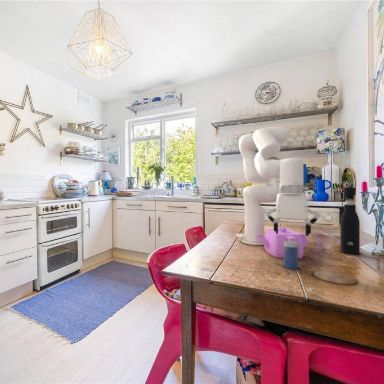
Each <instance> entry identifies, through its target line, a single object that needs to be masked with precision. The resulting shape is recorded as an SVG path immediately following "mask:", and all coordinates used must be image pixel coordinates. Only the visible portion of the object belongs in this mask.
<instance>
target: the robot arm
mask: <svg viewBox="0 0 384 384" xmlns="http://www.w3.org/2000/svg"><path fill="white" fill-rule="evenodd" d="M287 139H288V132H287V130H286V129H285V127H282V126H271V127H261V128H258V129H256V130H255V131H254V132H253V133H246V134H242V136H240V137H239V141H238V148H239V149H238V150H239V152H240V153H239V154H240V155H241V158H242V160H243V174H244V175H243V176H244V181H245V182H246V183H247V184H259V185H248V186H245V187H244V188H243V189H242V198H243V205H244V233H236V234H235V237H236V238H238V239H241V243H243V244H246V245H251V246H264V244H263V243H262V242H261V240H260V239H259V237H258V236H257V234H260V233H261V234H262V235H263V236H264V237H265V215H266V216H267V218H268V220H270V221H271V222H272V223H273V229H274V231H276V234H278V229H279V221H280V220H289V221H290V220H292V221H304V222H305V228H304V229H305V232H304V233H305V234H306V236H307V237H309V236H310V235H311V234H312V225H313V224H315V223H317V221H318V220H319V218H320V216H321V213H319V212H317V211H314V210H312V209H310V208H309V207H308V206H309V205H308V204H309V203H308V199H307V194H306V193H304V192H308V191H309V187H308V186H305V185H304V159H302V158H300V157H288V158H287V157H286V158H283V159H271V158H273V157H275V156H276V155H278V154H279V153H280V151H281V145H283V144H284V143H286V141H287ZM256 150H258V151H257V152H256ZM261 184H263V185H261ZM264 184H265V185H264ZM270 203H271V204H273V203H275V207H274V208H271V209H269V210H267V211H265V210H264V208H263V207H262V205H260V204H270ZM273 213H275V216H276V217H273V216H272V214H273ZM309 214H311V215H313V217H312V218H311V219H310V220H309Z"/></svg>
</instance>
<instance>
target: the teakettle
mask: <svg viewBox="0 0 384 384" xmlns="http://www.w3.org/2000/svg"><path fill="white" fill-rule="evenodd" d="M257 236H258V237H259V239H260V240H261V242H262V243H263V244H264V245H263V248H264V250H265V252H267V254H269V255H270V256H271V257H274V258H277V259H284V241H295V242H298V260H299V259H303V257H304V249H305V248H307V247H309V242H308V241H309V240H308V236H306V232H297V231H294V230H291V229H288V227H284V226H278V234H276V231H274V228H270V229H269V228H268V229H266V230H265V234H264V236H263V235H262V234H261V233H260V234H257Z"/></svg>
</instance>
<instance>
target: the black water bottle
mask: <svg viewBox="0 0 384 384" xmlns="http://www.w3.org/2000/svg"><path fill="white" fill-rule="evenodd" d="M356 194H357V188H356V187H344V188H343V195H344V196H345V201H344V205H343V212H342V213H341V216H340V223H339V224H340V229H339V230H340V231H339V232H340V252H341V253H343V254H347V255H353V256H354V255H355V256H356V255H360V254H361V252H360V251H361V249H360V247H361V246H360V245H361V244H360V242H361V241H360V240H361V239H360V235H361V234H360V231H361V230H360V228H361V227H360V226H361V225H360V224H361V223H360V218H359V215H358V213H357V210H356V209H357V208H356V206H357V205H356V204H355V203H356V202H355V200H354V199H355V198H354V196H356Z"/></svg>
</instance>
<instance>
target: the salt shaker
mask: <svg viewBox="0 0 384 384" xmlns="http://www.w3.org/2000/svg"><path fill="white" fill-rule="evenodd" d="M283 267H284V268H285V269H289V270H298V269H299V258H298V242H295V241H284V258H283Z"/></svg>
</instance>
